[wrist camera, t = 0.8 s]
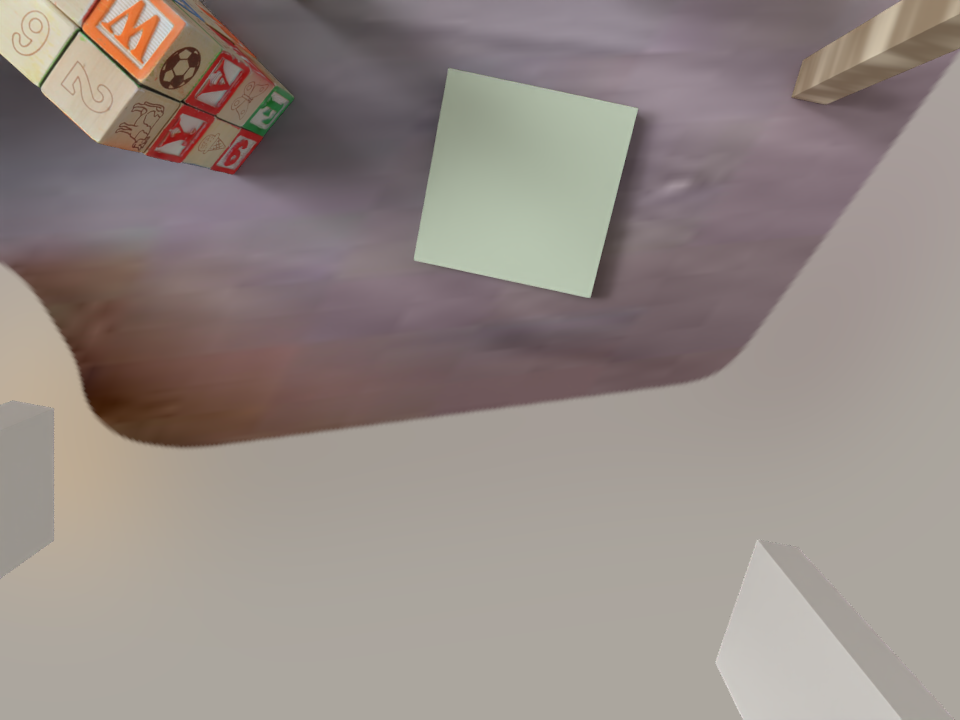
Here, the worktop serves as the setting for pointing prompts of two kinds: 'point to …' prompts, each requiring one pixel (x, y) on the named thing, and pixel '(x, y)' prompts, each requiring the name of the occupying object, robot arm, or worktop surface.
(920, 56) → the door frame
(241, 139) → the stack of blocks
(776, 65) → the worktop surface
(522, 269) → the sage mat
